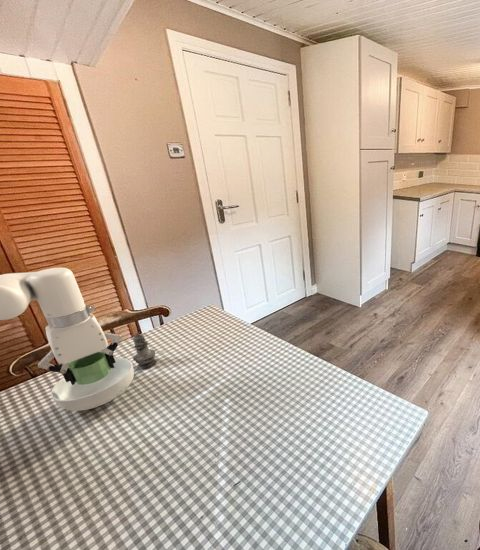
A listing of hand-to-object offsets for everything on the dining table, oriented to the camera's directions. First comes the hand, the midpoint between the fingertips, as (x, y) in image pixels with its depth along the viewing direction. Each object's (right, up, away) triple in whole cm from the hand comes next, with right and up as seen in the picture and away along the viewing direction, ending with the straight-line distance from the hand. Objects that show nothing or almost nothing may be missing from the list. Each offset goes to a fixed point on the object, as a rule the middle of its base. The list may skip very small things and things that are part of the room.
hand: (92, 373), depth 82 cm
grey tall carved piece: (+3, -2, +16) cm, 16 cm away
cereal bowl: (0, -8, +3) cm, 8 cm away
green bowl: (0, -1, 0) cm, 1 cm away
